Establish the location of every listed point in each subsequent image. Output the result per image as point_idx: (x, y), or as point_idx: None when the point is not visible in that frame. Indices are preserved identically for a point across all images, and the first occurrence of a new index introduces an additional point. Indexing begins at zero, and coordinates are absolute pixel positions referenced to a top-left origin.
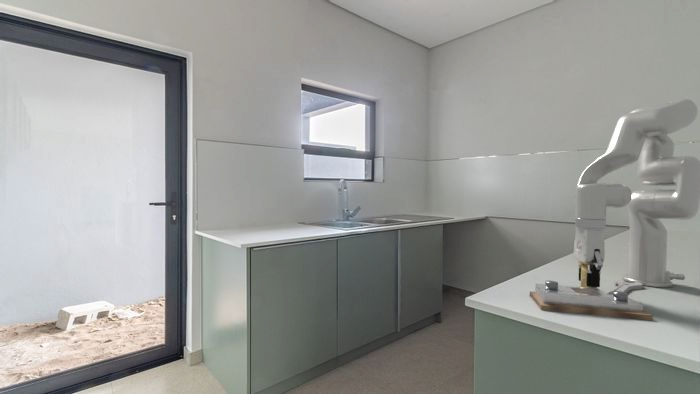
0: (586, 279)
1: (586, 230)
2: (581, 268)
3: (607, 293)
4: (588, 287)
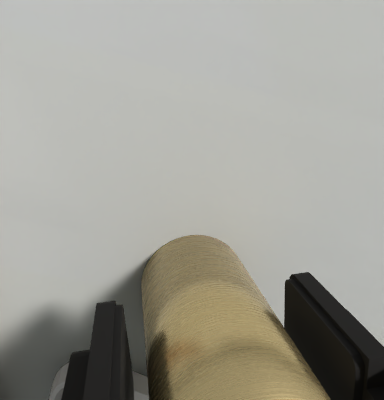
0: (157, 337)
1: None
2: (260, 388)
3: (138, 393)
4: (145, 304)
